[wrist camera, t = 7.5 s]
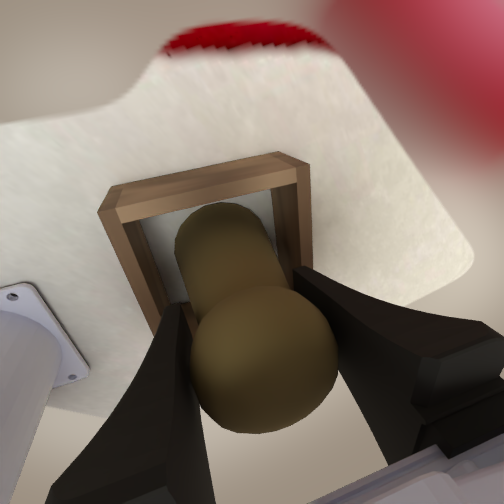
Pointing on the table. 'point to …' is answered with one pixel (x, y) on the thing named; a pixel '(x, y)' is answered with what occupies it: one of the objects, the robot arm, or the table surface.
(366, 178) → the table surface
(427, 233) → the table surface
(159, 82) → the table surface
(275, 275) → the olive game pawn
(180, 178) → the walnut stand
